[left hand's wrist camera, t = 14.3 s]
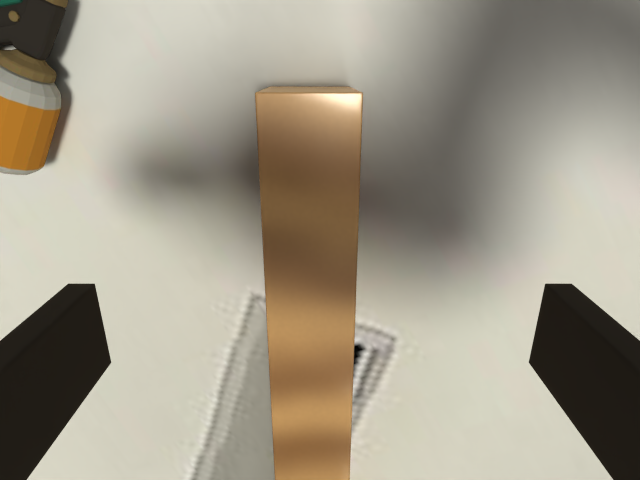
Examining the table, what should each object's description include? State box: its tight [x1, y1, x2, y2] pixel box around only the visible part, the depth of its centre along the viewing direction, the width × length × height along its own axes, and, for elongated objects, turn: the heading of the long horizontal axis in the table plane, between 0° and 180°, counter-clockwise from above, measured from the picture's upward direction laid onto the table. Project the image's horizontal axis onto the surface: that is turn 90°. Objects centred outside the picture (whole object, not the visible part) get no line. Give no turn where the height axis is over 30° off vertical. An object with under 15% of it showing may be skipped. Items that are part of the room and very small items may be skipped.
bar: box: [255, 87, 363, 480], centre depth 34 cm, size 58×5×7 cm, turn 0°
